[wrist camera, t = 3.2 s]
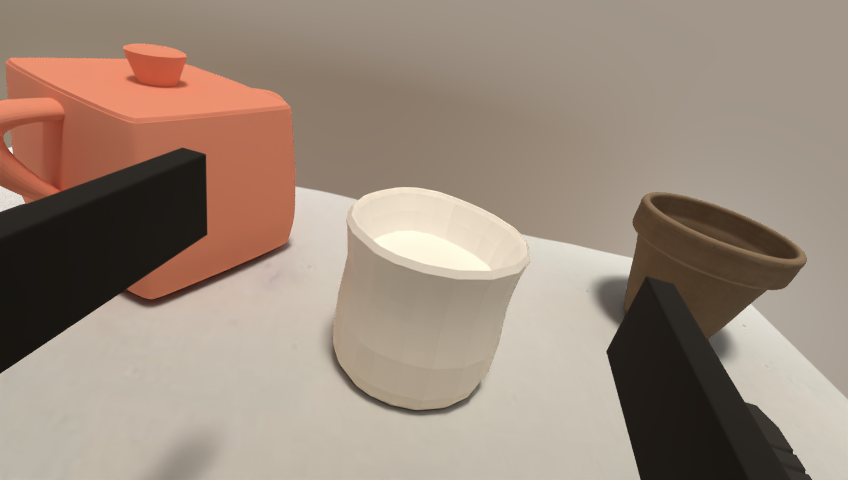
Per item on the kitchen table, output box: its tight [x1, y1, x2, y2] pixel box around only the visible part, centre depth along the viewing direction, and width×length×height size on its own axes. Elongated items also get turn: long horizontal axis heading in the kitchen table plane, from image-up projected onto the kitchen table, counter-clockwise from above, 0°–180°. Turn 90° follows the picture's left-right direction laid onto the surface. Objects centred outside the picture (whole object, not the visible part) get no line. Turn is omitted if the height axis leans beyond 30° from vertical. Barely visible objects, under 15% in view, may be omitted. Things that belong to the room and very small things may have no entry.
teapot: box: [0, 44, 295, 299], centre depth 33 cm, size 20×22×14 cm
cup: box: [333, 187, 530, 410], centre depth 26 cm, size 10×10×10 cm
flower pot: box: [624, 192, 807, 339], centre depth 36 cm, size 12×11×10 cm
